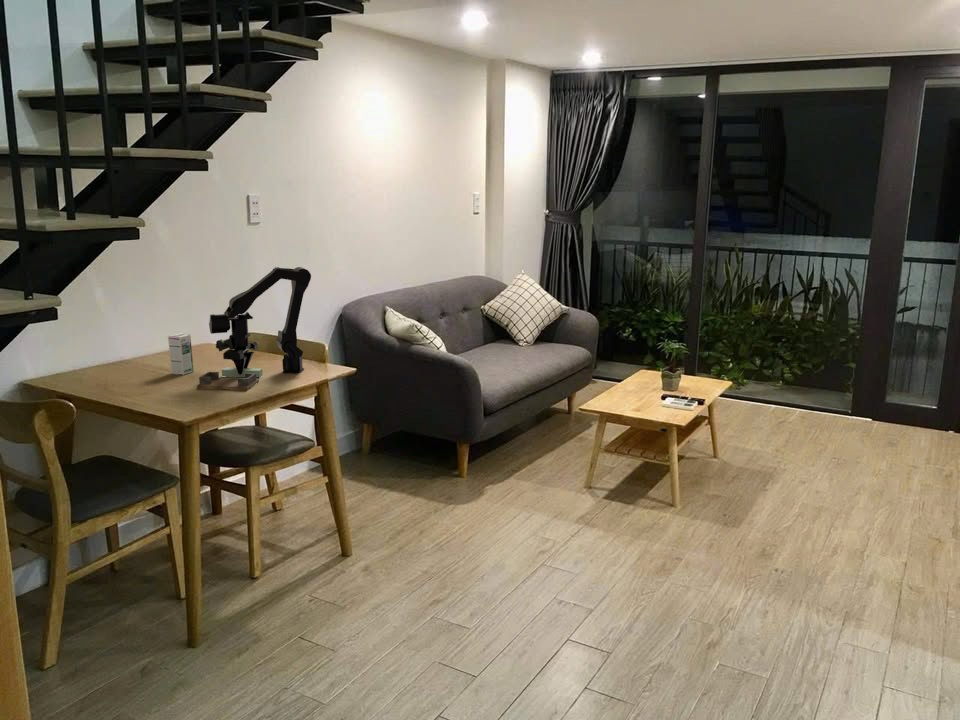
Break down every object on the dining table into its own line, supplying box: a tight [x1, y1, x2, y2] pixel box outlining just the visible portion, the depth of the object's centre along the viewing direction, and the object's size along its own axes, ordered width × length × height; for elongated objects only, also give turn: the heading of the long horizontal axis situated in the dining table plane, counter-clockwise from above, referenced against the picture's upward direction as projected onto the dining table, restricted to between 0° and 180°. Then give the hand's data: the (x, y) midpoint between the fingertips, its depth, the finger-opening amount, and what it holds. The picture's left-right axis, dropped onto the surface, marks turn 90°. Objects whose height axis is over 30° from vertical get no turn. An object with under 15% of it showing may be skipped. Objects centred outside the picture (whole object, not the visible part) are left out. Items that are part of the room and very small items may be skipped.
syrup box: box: [167, 332, 194, 376], centre depth 299 cm, size 6×6×14 cm
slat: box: [221, 367, 264, 378], centre depth 296 cm, size 14×4×3 cm, turn 87°
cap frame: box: [196, 371, 260, 391], centre depth 283 cm, size 18×11×4 cm, turn 85°
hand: (242, 373), depth 296 cm, fingers open, 4 cm apart
